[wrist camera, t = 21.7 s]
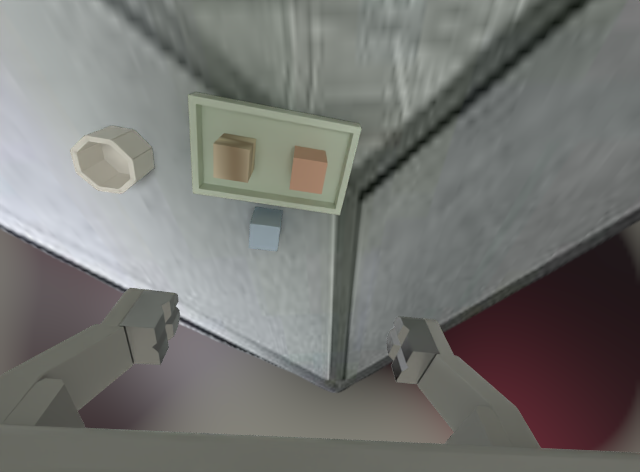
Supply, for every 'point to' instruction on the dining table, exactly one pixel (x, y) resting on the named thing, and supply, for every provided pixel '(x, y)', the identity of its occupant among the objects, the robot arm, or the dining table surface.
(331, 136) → the tray
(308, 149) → the terracotta block
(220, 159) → the birch block
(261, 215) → the blue block
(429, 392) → the robot arm
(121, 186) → the cup
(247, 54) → the dining table surface
